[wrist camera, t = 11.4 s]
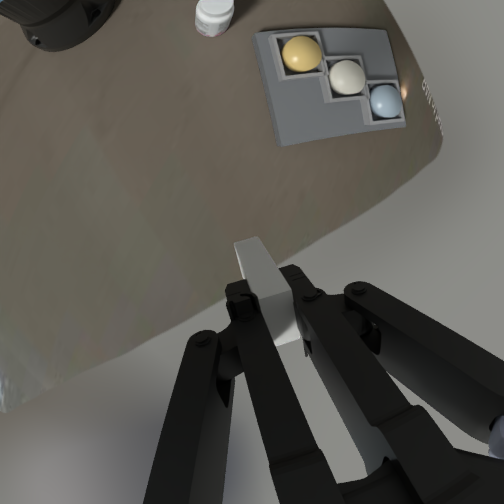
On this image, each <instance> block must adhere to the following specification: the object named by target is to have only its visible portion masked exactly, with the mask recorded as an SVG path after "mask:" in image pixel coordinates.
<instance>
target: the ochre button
mask: <svg viewBox="0 0 504 504" xmlns="http://www.w3.org/2000/svg"><path fill="white" fill-rule="evenodd" d="M280 55H281V59H282V62H283V64H284V65H285V66H286V67H287V68H288V69H290V70H291V71H294V72H298V73H302V72H306V71H308V70H311V69H313V68H315V67H316V66H317V65H318V64H319V63H320V61H321V58H322V53H321V49H320V47H319V45H318V44H317V43H316V42H315V41H314V40H312V39H311V38H309V37H305V36H297V37H294V38H292V39H291V40H289V41H288V42H287V43H286V44H285V45H284V46H283V47H282V49H281V53H280Z"/></svg>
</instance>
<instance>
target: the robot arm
mask: <svg viewBox="0 0 504 504" xmlns="http://www.w3.org/2000/svg"><path fill="white" fill-rule="evenodd" d="M114 3H115V0H0V15H2V16H4V17H6V18H8V19H10V20H12V21H14V22H16V23H18V24H20V26H21V28H22V30H23V33H24V35H25V37H26V39H27V40H28V41H29V42H30V43H31V44H32V45H33V46H35V47H37V48H39V49H41V50H44V51H49V52H57V51H63V50H66V49H69V48H72V47H74V46H76V45H78V44H80V43H82V42H83V41H85V40H86V39H88V38H89V37H90V36H92V35H93V34H94V33H95V32H96V31H97V30H98V29H99V28H100V27H101V26H102V25H103V23H104V22H105V21H106V19H107V18H108V16H109V15H110V13H111V11H112V9H113V6H114ZM234 247H235V250H236V254H237V258H238V261H239V265H240V269H241V272H242V276H243V279H244V280H240V281H237V282H234V283H230V284H227V287H226V289H225V293H226V297H227V302H226V307H227V310H228V313H229V316H230V319H231V323H230V324H229V326H228V327H227V328H226V329H224V330H223V331H221V332H219V333H216V332H215V331H212V330H203V331H199V332H197V333H195V334H194V335H192V336H191V337H190V338H189V340H188V342H187V345H186V348H185V352H184V355H183V358H182V362H181V365H180V368H179V372H178V375H177V379H176V382H175V385H174V389H173V392H172V396H171V399H170V403H169V406H168V410H167V414H166V417H165V421H164V424H163V428H162V431H161V435H160V439H159V442H158V446H157V451H156V454H155V458H154V461H153V465H152V469H151V473H150V477H149V481H148V485H147V489H146V493H145V497H144V501H143V504H222V500H223V491H224V481H225V472H226V462H227V453H228V443H229V434H230V424H231V415H232V405H233V396H234V387H235V386H234V385H235V376H237V375H239V374H241V373H242V372H244V373H245V377H246V381H247V385H248V389H249V393H250V396H251V400H252V403H253V407H254V411H255V415H256V418H257V422H258V425H259V429H260V432H261V436H262V440H263V443H264V446H265V450H266V453H267V457H268V461H269V468H270V473H271V476H272V480H273V483H274V486H275V490H276V493H277V496H278V499H279V503H280V504H504V361H503V360H501V359H499V358H498V357H496V356H495V355H493V354H491V353H489V352H488V351H486V350H485V349H483V348H481V347H480V346H478V345H476V344H474V343H473V342H471V341H470V340H468V339H466V338H465V337H463V336H461V335H459V334H458V333H456V332H454V331H453V330H451V329H449V328H447V327H446V326H444V325H442V324H441V323H439V322H437V321H435V320H434V319H432V318H430V317H428V316H427V315H425V314H423V313H421V312H419V311H418V310H416V309H414V308H413V307H411V306H409V305H407V304H405V303H404V302H402V301H400V300H398V299H397V298H395V297H393V296H391V295H390V294H388V293H386V292H384V291H382V290H381V289H379V288H377V287H375V286H373V285H372V284H370V283H367V282H361V281H358V282H353V283H350V284H348V285H347V286H346V287H345V288H344V294H337V295H327V294H326V293H325V292H324V291H323V290H322V289H319V288H315V287H314V286H313V284H312V283H311V282H310V280H309V279H308V278H307V277H306V275H305V274H304V273H303V271H302V270H301V269H300V267H298V266H295V265H293V264H292V265H288V266H285V267H281V268H278V267H277V266H276V264H275V262H274V261H273V259H272V258H271V256H270V255H269V253H268V251H267V250H266V248H265V247H264V245H263V243H262V242H261V240H260V239H259V237H258V236H256V237H252V238H249V239H245V240H242V241H238V242H235V243H234ZM299 331H300V333H301V335H302V338H303V343H304V350H305V356H306V357H307V356H308V354H309V356H310V358H311V360H312V362H313V364H314V366H315V368H316V369H317V372H318V374H319V376H320V377H321V379H322V381H323V383H324V385H325V387H326V389H327V391H328V393H329V395H330V397H331V398H332V400H333V402H334V404H335V406H336V408H337V410H338V412H339V414H340V416H341V418H342V419H343V422H344V424H345V426H346V428H347V429H348V431H349V433H350V435H351V437H352V439H353V441H354V443H355V445H356V447H357V448H358V451H359V453H360V455H361V456H362V458H363V461H364V463H365V467H366V472H367V475H368V476H367V477H366V478H364V479H361V480H356V481H350V482H345V483H339V484H337V483H336V481H335V479H334V476H333V474H332V472H331V469H330V467H329V465H328V463H327V460H326V458H325V456H324V454H323V452H322V451H321V449H319V448H318V446H317V444H316V441H315V439H314V437H313V434H312V432H311V430H310V427H309V425H308V423H307V420H306V418H305V415H304V413H303V411H302V409H301V406H300V404H299V401H298V399H297V397H296V394H295V392H294V389H293V387H292V385H291V382H290V380H289V377H288V375H287V373H286V370H285V368H284V365H283V363H282V361H281V358H280V356H279V353H278V351H277V349H276V346H278V345H282V344H285V343H288V342H291V341H294V340H297V339H300V334H299ZM386 371H387V372H388V373H389V374H390V375H392V376H393V377H394V378H396V379H397V380H398V381H399V382H401V383H402V384H403V385H405V386H406V387H407V388H408V389H410V390H411V391H412V392H413V393H415V394H416V395H417V396H419V397H420V398H421V399H422V400H424V401H425V402H427V404H429V405H430V406H431V407H433V408H434V409H435V410H436V411H438V412H439V413H440V414H442V415H443V416H444V417H445V418H447V419H448V420H449V421H451V422H452V423H453V424H455V425H456V426H457V427H459V428H460V429H461V430H462V431H464V432H465V433H467V434H468V435H470V436H471V437H473V438H475V439H477V440H479V441H481V442H483V443H486V444H489V452H488V453H489V456H490V457H489V456H485V455H481V454H476V453H472V452H468V451H464V450H460V449H456V448H453V446H452V445H451V443H450V442H449V441H448V439H447V438H446V437H445V435H444V434H443V432H442V431H441V430H440V428H439V427H438V425H437V424H436V423H435V421H434V420H433V419H432V417H431V416H430V415H429V413H428V412H427V411H426V410H425V409H424V408H423V407H422V406H420V405H414V406H413V405H411V404H410V403H409V402H408V401H407V399H406V398H405V396H404V395H403V394H402V392H401V391H400V390H399V388H398V387H397V386H396V384H395V383H394V382H393V380H392V379H391V377H390V376H389V375H388V373H387V372H386Z"/></svg>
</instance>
